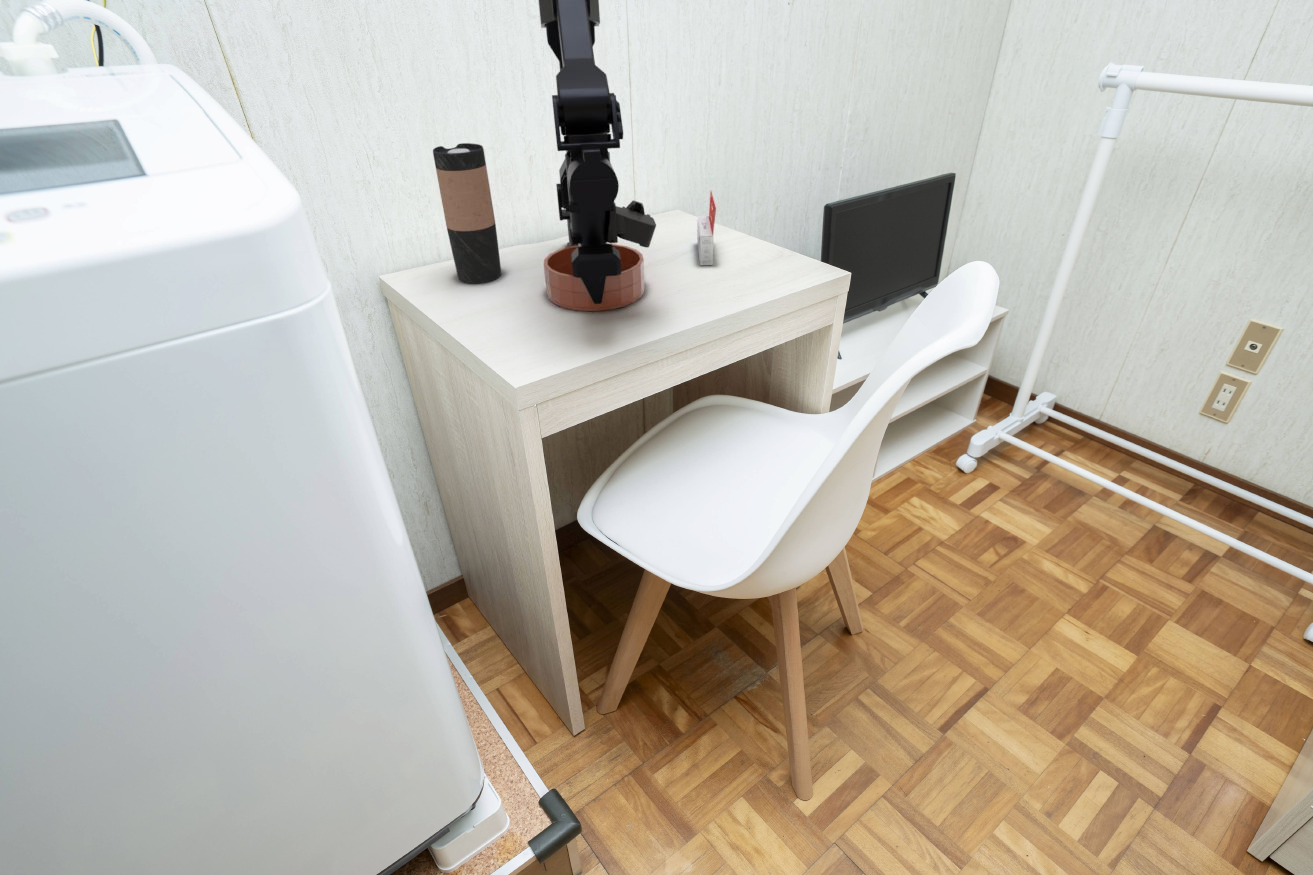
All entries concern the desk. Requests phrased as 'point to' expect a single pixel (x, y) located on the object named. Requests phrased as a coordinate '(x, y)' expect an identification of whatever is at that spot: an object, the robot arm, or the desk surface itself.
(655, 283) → the desk surface
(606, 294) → the bowl
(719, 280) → the desk surface
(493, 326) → the desk surface
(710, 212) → the ink cartridge box
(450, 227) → the travel mug
